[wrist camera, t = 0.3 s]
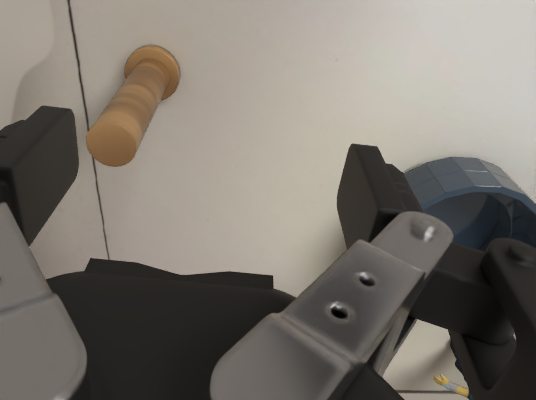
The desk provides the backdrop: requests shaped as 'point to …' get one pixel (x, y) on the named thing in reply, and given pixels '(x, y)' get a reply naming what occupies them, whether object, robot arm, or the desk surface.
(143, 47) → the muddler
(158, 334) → the robot arm
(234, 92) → the desk surface
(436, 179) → the bowl
